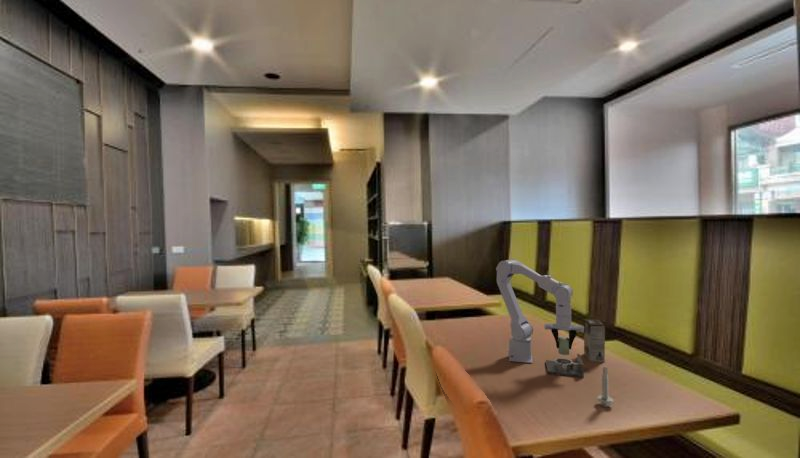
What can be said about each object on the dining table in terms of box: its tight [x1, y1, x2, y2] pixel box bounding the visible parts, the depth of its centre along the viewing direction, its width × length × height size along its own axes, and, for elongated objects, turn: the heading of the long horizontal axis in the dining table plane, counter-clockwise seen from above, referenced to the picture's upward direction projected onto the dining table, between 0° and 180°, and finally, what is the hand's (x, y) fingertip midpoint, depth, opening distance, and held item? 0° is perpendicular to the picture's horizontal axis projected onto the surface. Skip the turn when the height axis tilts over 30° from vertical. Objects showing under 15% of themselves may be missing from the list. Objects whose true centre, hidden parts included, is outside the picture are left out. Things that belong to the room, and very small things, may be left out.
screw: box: [596, 366, 614, 408], centre depth 124 cm, size 13×5×5 cm
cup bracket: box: [545, 353, 585, 378], centre depth 153 cm, size 13×12×5 cm
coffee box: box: [583, 318, 606, 363], centre depth 165 cm, size 9×6×16 cm
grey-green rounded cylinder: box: [557, 336, 570, 356], centre depth 152 cm, size 4×4×6 cm
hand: (563, 347), depth 153 cm, fingers closed on grey-green rounded cylinder, 4 cm apart
